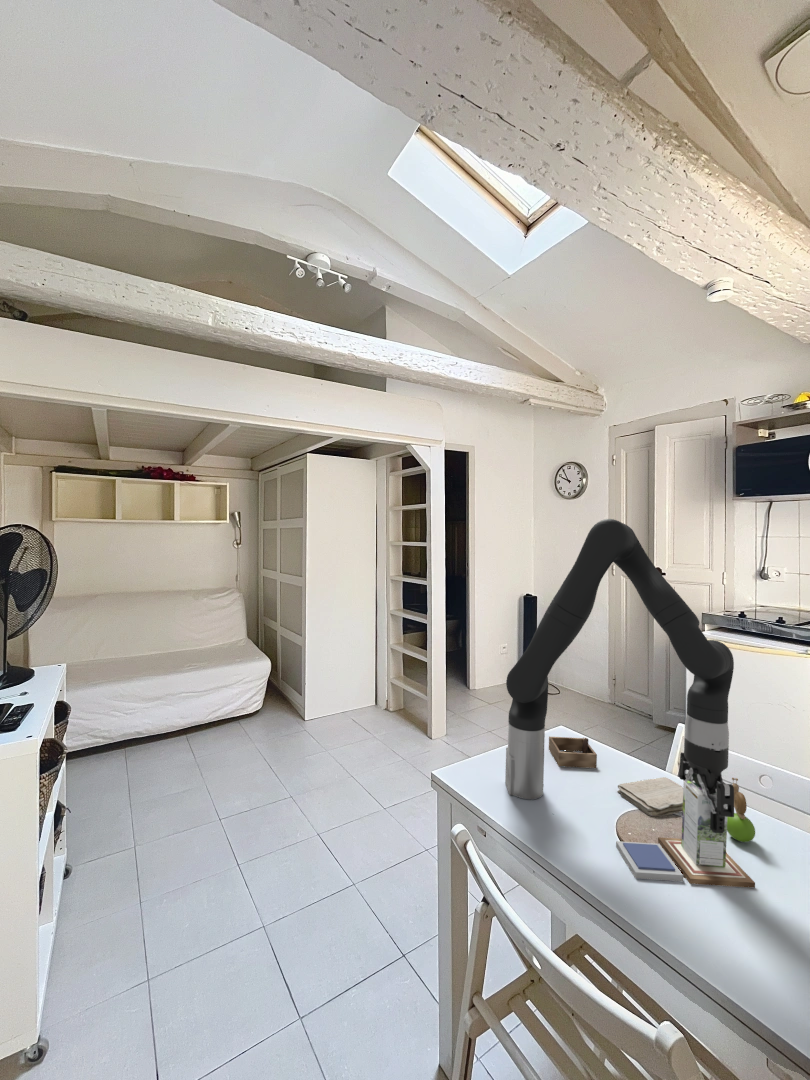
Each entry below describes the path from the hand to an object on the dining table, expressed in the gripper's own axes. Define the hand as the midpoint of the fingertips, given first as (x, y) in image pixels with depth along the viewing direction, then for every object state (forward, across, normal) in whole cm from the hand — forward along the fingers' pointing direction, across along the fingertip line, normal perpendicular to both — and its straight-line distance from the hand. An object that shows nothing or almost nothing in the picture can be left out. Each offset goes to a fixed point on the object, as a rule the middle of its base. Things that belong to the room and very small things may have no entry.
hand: (703, 818), depth 91 cm
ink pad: (+9, +1, -11) cm, 15 cm away
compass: (+10, -42, -13) cm, 45 cm away
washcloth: (+10, -23, +3) cm, 26 cm away
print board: (+9, 0, 0) cm, 9 cm away
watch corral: (+9, -43, -13) cm, 46 cm away
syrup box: (+8, 0, 0) cm, 8 cm away
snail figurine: (+9, -9, +13) cm, 18 cm away
